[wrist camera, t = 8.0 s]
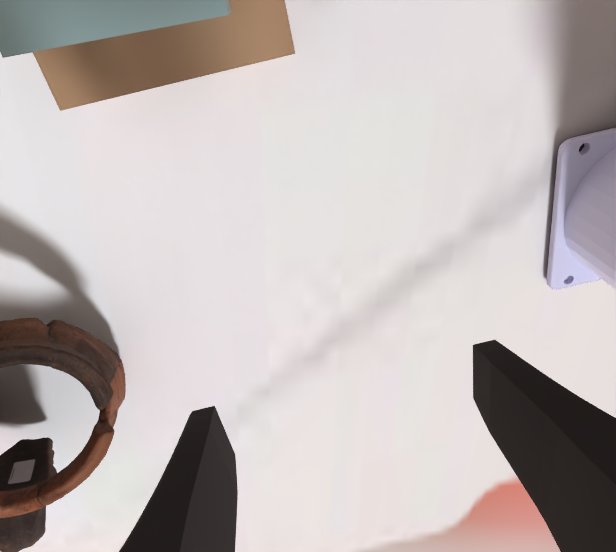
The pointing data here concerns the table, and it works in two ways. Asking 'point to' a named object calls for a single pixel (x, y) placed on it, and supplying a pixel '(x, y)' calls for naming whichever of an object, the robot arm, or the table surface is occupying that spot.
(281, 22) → the slab
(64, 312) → the table surface
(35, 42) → the cube
